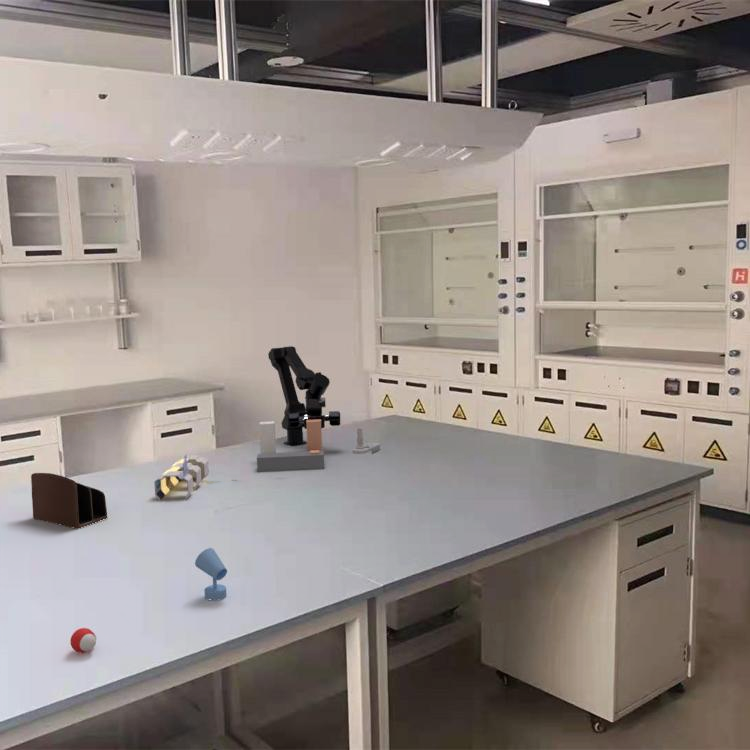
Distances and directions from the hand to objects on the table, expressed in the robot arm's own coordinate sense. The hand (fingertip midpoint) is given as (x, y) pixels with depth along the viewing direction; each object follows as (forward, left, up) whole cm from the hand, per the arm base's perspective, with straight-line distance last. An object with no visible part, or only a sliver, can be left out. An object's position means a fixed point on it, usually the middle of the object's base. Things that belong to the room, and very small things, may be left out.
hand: (314, 439), depth 280 cm
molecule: (+87, -111, -8) cm, 141 cm away
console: (+3, -12, -8) cm, 14 cm away
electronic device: (+4, +20, -8) cm, 22 cm away
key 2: (+4, -3, -6) cm, 8 cm away
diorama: (-1, -50, -8) cm, 50 cm away
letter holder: (+5, -87, -8) cm, 87 cm away
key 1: (-5, -16, -6) cm, 18 cm away
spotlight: (+81, -82, -8) cm, 115 cm away
